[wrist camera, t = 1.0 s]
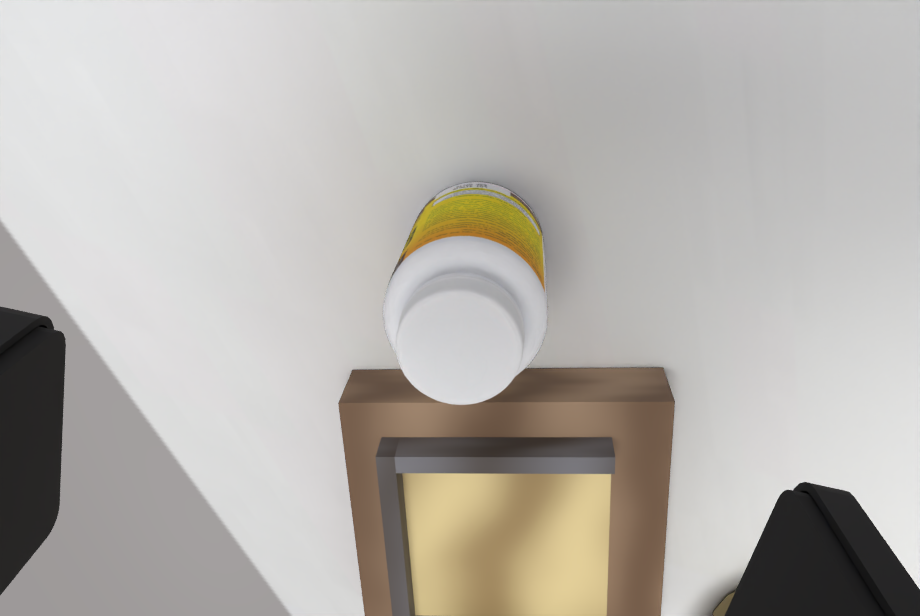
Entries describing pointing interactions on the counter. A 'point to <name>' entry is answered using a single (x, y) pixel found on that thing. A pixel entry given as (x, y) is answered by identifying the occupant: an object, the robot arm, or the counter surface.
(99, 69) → the counter surface
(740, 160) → the counter surface
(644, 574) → the frame
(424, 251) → the supplement bottle
